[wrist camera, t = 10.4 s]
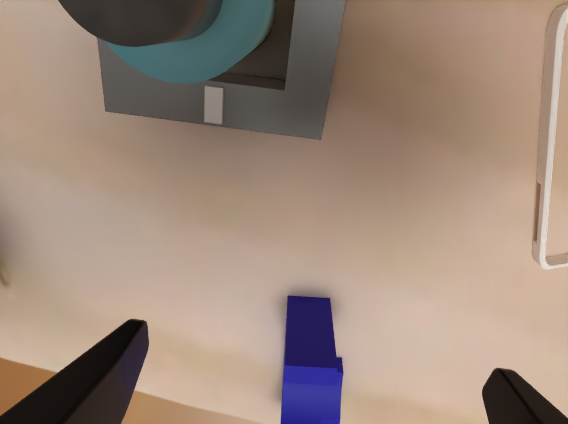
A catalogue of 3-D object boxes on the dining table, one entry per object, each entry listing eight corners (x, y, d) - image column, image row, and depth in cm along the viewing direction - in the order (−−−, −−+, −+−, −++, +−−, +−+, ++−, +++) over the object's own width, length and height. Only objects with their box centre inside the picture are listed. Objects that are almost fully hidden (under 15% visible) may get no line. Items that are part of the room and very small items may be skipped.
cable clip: (333, 404, 31) (340, 482, 26) (281, 400, 31) (278, 478, 26) (350, 297, 26) (364, 370, 20) (287, 294, 26) (284, 365, 20)
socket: (131, 99, 19) (102, 112, 17) (112, -157, 15) (66, -201, 12) (318, 123, 20) (321, 141, 17) (359, -120, 15) (373, -154, 12)
